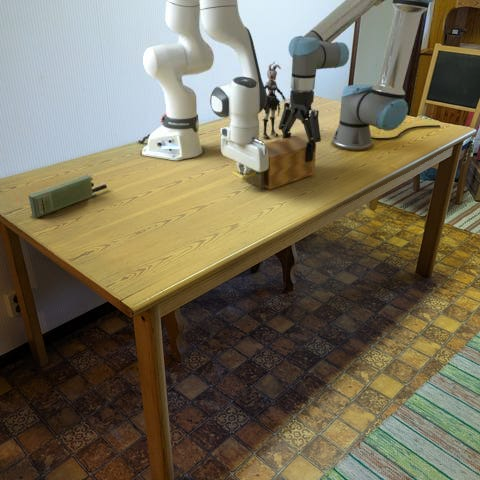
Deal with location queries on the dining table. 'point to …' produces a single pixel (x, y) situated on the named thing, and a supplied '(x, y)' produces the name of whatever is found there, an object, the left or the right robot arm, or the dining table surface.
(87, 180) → the handheld radio
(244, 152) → the left robot arm
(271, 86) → the figurine
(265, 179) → the drawer
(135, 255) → the dining table surface
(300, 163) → the cabinet
